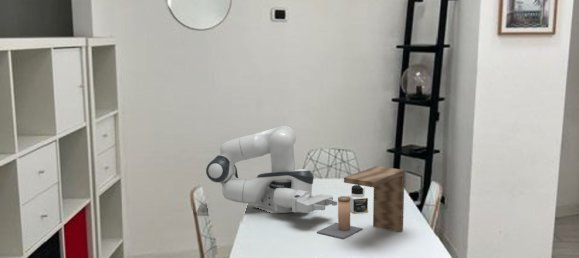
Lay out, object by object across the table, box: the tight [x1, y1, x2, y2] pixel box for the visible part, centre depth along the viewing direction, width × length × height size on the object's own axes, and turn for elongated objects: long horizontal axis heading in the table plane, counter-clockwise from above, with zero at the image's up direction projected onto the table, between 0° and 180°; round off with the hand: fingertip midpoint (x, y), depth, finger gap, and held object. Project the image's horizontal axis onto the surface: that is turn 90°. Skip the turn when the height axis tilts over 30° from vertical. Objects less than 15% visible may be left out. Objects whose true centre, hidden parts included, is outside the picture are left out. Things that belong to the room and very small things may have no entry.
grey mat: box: [316, 222, 363, 240], centre depth 238 cm, size 13×15×1 cm
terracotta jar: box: [337, 195, 351, 231], centre depth 238 cm, size 5×5×13 cm
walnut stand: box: [343, 165, 405, 233], centre depth 230 cm, size 13×26×26 cm, turn 143°
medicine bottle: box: [347, 184, 369, 214], centre depth 266 cm, size 7×7×12 cm
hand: (330, 205), depth 242 cm, fingers open, 8 cm apart
